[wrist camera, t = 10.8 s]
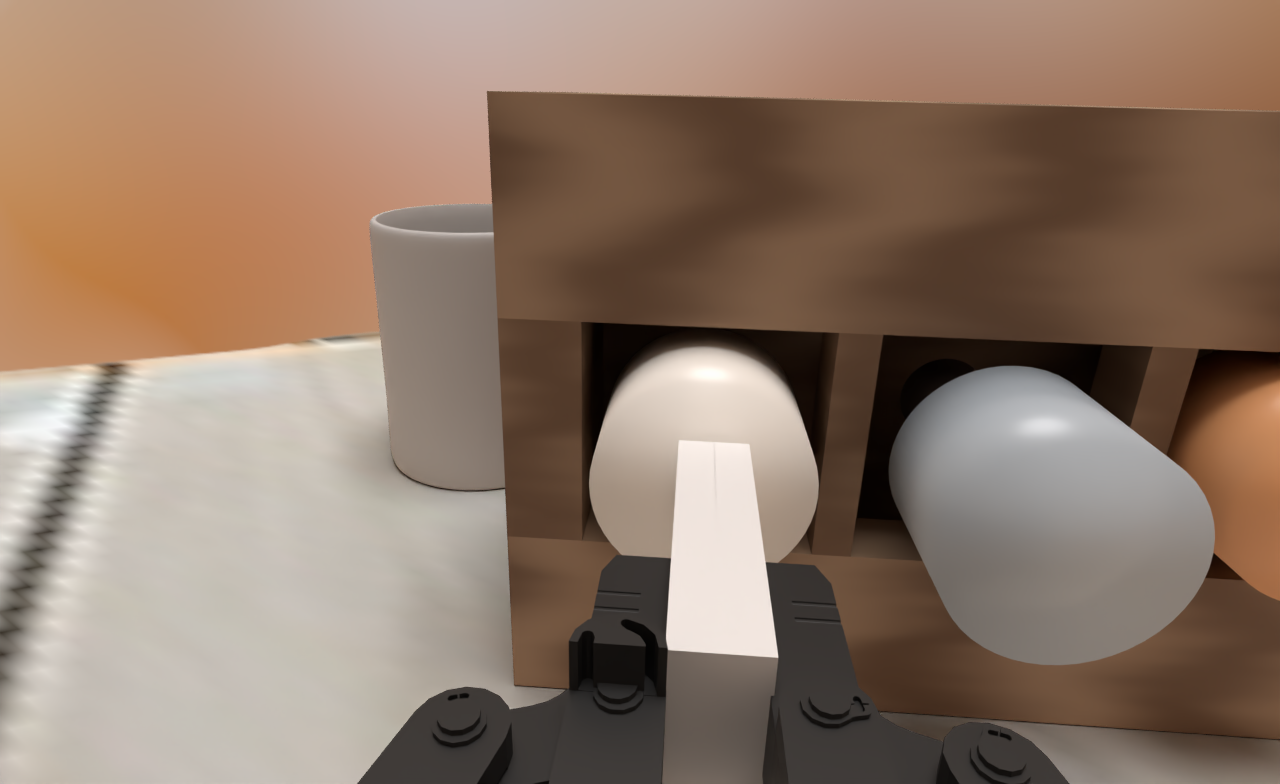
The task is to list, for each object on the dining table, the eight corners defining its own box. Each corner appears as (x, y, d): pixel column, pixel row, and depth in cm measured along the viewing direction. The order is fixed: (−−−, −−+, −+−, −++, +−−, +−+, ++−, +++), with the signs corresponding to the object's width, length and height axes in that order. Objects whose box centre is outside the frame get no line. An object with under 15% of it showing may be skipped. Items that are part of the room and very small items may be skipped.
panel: (514, 685, 22) (487, 90, 16) (568, 509, 31) (564, 92, 26) (1386, 746, 21) (1701, 123, 15) (1173, 544, 30) (1314, 112, 24)
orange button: (1196, 599, 18) (1267, 398, 16) (1044, 445, 25) (1079, 298, 23) (1426, 613, 17) (1524, 410, 15) (1201, 453, 25) (1249, 304, 23)
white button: (589, 579, 18) (589, 377, 16) (622, 432, 25) (624, 284, 24) (806, 592, 17) (831, 389, 16) (773, 439, 25) (787, 291, 23)
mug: (565, 494, 33) (562, 237, 29) (365, 490, 33) (334, 231, 29) (585, 392, 44) (584, 196, 40) (436, 388, 44) (420, 192, 40)
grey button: (917, 656, 16) (961, 433, 14) (844, 470, 23) (866, 310, 21) (1171, 673, 15) (1251, 447, 13) (1012, 478, 23) (1049, 318, 21)
